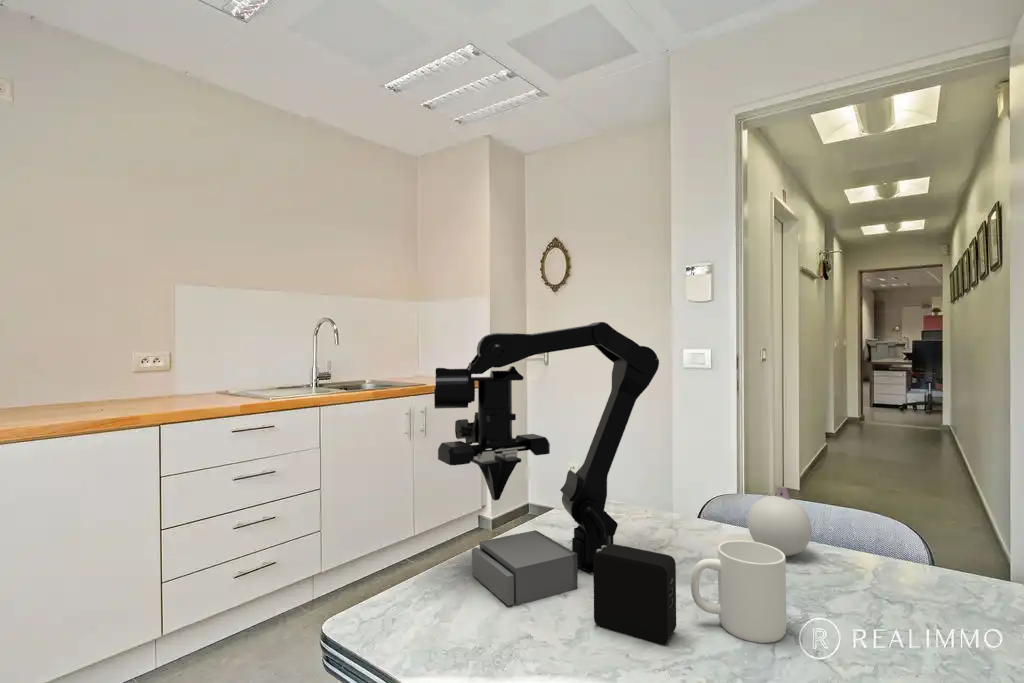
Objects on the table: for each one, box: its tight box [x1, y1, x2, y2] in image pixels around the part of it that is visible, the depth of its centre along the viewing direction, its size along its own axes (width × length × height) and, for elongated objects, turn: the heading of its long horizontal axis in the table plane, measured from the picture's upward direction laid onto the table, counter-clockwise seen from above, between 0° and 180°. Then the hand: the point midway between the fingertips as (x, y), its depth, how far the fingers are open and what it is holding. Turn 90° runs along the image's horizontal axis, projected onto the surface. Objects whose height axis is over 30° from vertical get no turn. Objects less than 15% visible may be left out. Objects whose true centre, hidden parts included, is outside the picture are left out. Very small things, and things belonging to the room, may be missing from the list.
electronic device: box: [593, 543, 677, 646], centre depth 71 cm, size 4×10×10 cm, turn 58°
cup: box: [690, 539, 787, 644], centre depth 72 cm, size 8×12×10 cm
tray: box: [471, 547, 515, 607], centre depth 85 cm, size 11×12×4 cm
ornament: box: [747, 486, 812, 557], centre depth 97 cm, size 10×10×12 cm
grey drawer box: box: [479, 530, 579, 606], centre depth 86 cm, size 11×12×5 cm
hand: (495, 499), depth 90 cm, fingers closed
